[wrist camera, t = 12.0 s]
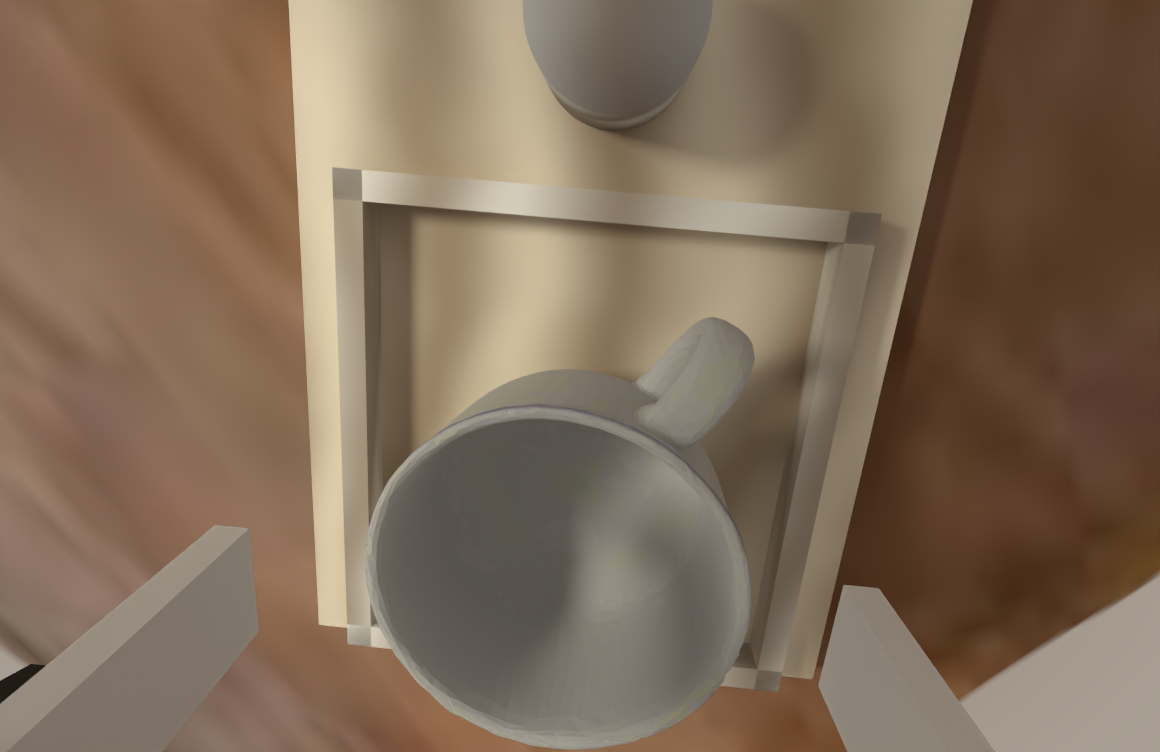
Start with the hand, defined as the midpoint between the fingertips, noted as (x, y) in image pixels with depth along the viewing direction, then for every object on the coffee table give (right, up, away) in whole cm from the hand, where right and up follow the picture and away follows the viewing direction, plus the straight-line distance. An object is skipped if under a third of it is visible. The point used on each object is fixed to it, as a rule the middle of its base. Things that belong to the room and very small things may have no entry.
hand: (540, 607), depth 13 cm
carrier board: (+1, +7, +10) cm, 12 cm away
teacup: (+2, +2, +10) cm, 11 cm away
